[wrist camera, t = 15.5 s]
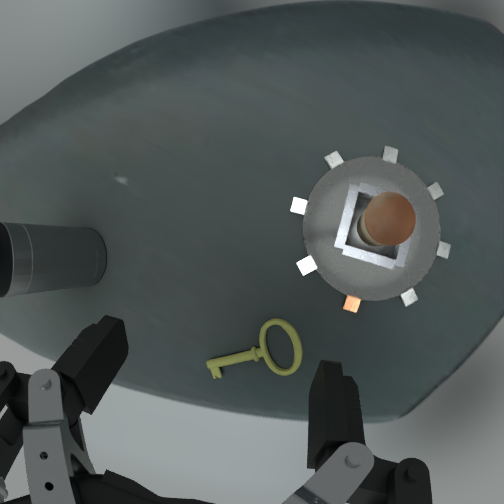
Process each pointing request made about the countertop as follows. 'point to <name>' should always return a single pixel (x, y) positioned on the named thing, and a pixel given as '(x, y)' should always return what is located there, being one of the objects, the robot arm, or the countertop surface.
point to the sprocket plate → (346, 236)
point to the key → (262, 352)
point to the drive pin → (387, 220)
